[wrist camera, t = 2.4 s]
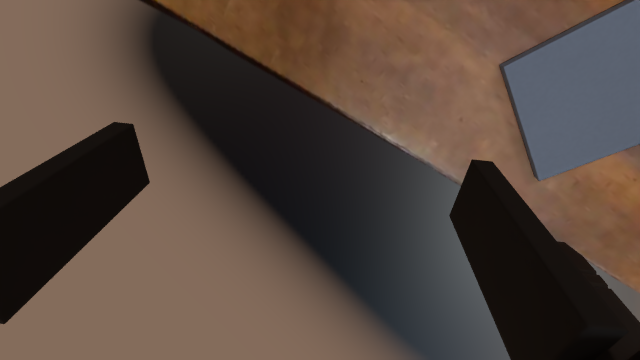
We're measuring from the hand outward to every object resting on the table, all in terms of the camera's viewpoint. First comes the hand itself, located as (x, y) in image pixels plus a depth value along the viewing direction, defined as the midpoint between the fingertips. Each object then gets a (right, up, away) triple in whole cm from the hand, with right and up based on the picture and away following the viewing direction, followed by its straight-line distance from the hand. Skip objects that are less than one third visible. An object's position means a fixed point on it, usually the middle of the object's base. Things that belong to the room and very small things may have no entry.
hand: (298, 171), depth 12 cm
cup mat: (+27, +8, +17) cm, 33 cm away
